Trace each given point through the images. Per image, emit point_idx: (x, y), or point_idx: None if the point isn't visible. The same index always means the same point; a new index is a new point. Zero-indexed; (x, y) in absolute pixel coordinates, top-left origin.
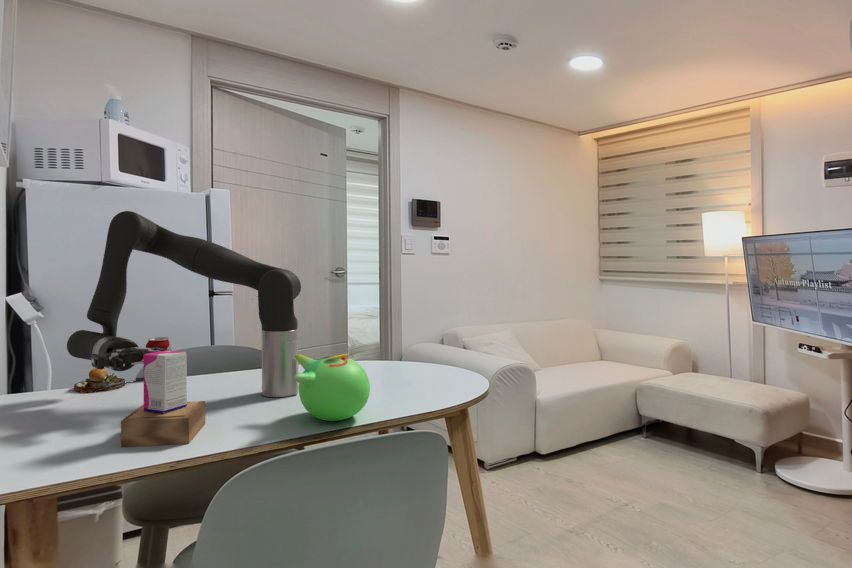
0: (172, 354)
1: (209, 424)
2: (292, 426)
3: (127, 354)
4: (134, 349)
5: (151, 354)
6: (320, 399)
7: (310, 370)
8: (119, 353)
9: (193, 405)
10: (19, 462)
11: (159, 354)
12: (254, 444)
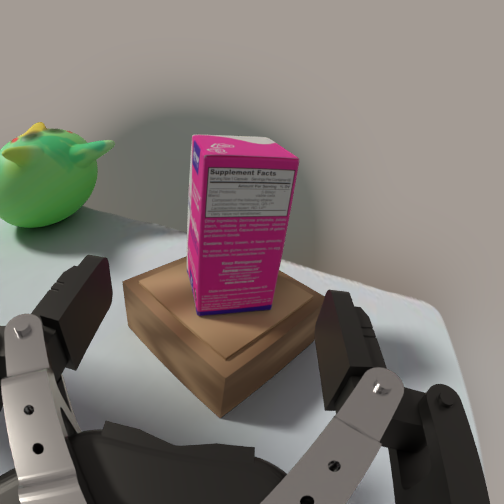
0: (241, 136)
1: (126, 319)
2: (91, 233)
3: (226, 445)
4: (89, 499)
5: (284, 149)
6: (97, 171)
7: (68, 146)
8: (305, 453)
9: (171, 269)
10: (452, 383)
11: (268, 142)
12: (173, 231)
